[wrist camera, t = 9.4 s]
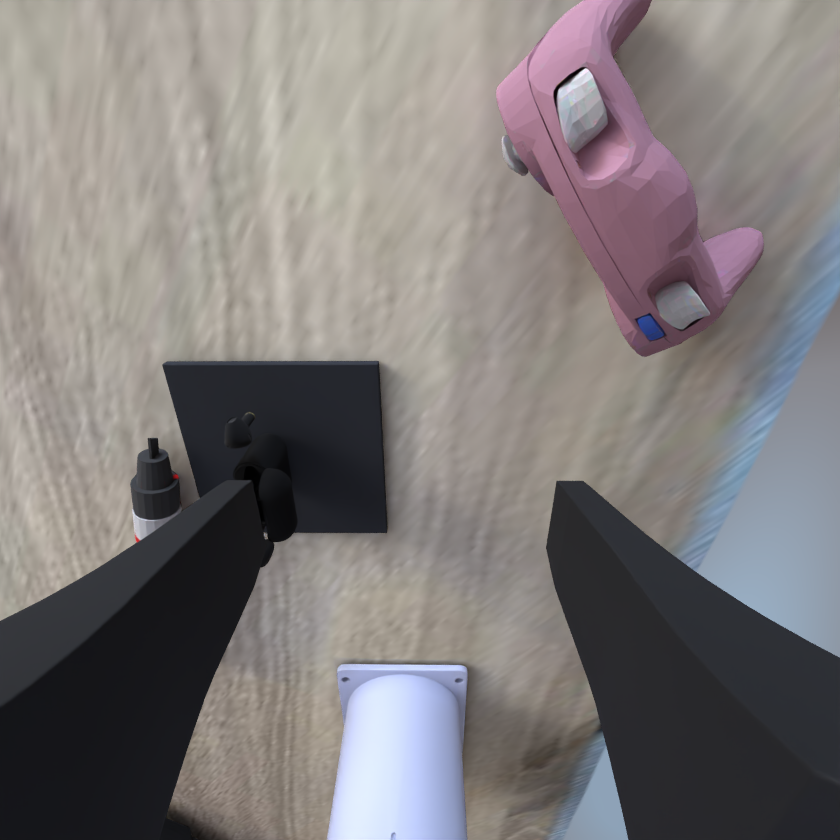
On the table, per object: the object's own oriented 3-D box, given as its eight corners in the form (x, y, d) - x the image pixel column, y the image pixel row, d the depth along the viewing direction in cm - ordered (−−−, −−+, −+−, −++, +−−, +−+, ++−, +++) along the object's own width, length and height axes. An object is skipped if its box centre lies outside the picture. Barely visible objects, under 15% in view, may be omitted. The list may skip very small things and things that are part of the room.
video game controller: (509, 73, 16) (442, 116, 11) (643, -54, 13) (628, -69, 8) (637, 300, 19) (626, 405, 15) (766, 242, 16) (804, 350, 12)
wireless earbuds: (245, 386, 19) (191, 447, 15) (304, 386, 19) (268, 447, 15) (271, 517, 22) (233, 600, 18) (322, 517, 22) (296, 600, 18)
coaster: (387, 528, 23) (386, 533, 23) (212, 527, 23) (209, 532, 23) (379, 360, 19) (378, 364, 19) (166, 361, 19) (161, 364, 19)
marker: (194, 645, 28) (178, 677, 26) (161, 640, 27) (143, 672, 26) (185, 427, 21) (162, 450, 19) (140, 420, 20) (113, 442, 19)
